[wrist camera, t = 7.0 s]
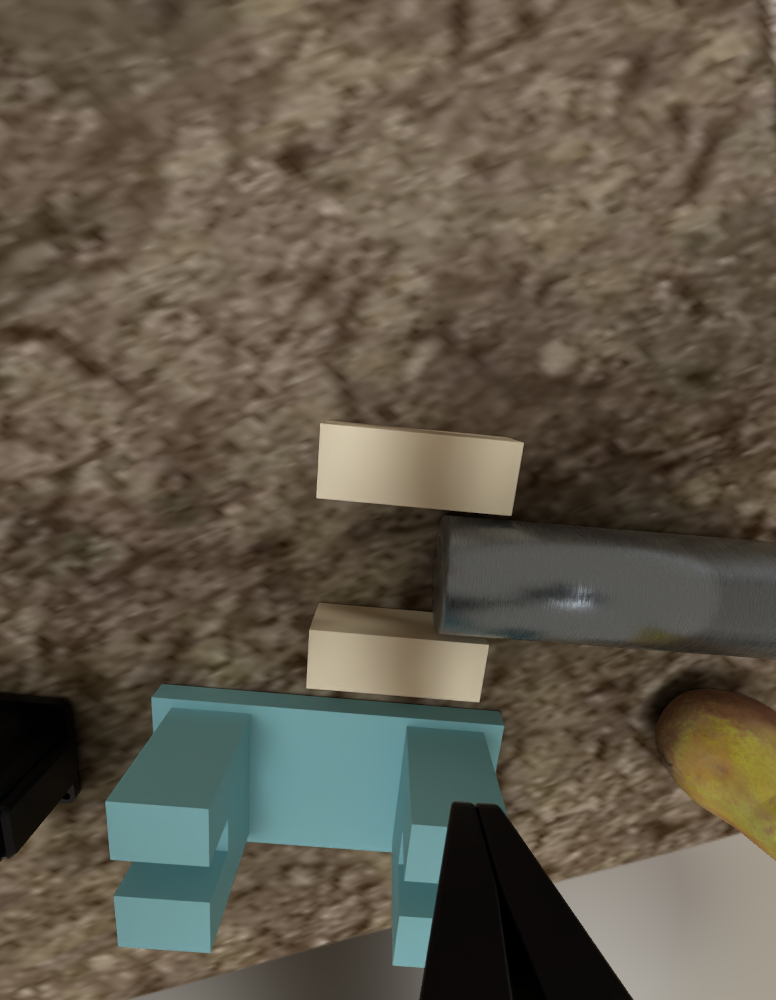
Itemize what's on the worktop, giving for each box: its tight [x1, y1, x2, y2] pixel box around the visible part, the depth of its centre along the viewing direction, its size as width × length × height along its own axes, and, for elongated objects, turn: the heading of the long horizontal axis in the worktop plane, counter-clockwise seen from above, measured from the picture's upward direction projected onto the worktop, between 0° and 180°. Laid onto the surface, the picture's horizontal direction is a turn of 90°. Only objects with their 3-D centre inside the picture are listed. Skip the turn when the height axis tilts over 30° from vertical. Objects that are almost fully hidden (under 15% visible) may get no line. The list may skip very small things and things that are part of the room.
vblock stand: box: [105, 684, 508, 968], centre depth 20 cm, size 18×9×6 cm, turn 85°
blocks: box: [306, 420, 524, 702], centre depth 19 cm, size 8×12×2 cm, turn 175°
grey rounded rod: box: [432, 515, 776, 659], centre depth 18 cm, size 14×5×5 cm, turn 85°
